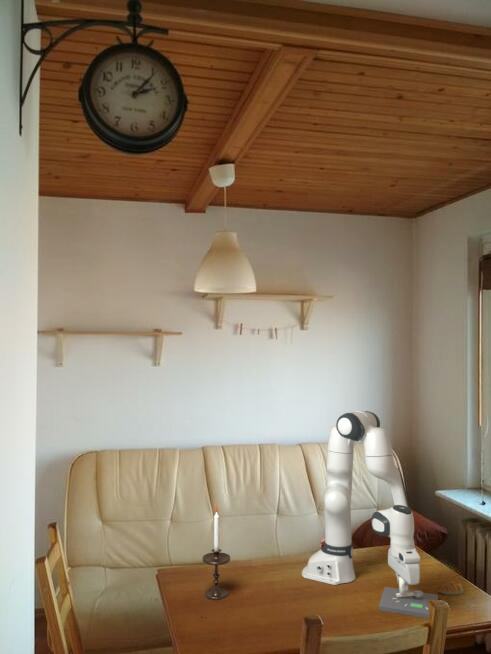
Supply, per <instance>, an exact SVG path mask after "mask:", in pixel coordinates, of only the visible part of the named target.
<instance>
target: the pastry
mask: <svg viewBox="0 0 491 654" xmlns="http://www.w3.org/2000/svg"><path fill="white" fill-rule="evenodd" d="M438 593H441V594H443V595H445V596H456V595H462V594H463V593H464V588H463V586H462V584H461V583H460V581H457V580H453V581H446V582H445V583H444V584H441V585H440V586H439V587H438Z"/></svg>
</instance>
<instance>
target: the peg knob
mask: <svg viewBox="0 0 491 654" xmlns="http://www.w3.org/2000/svg"><path fill="white" fill-rule="evenodd" d="M403 583H404V581H403V578H402V577H401V576H399V584H398V589H399V593H396V596H397V597H404V596H413V597H415V598H423V593H424V592H423V591H422V590H420V589H419V590H418V589H414V590H412V591H413V592H409V593H407V590H404V589H403V588H402V587H403V586H402V584H403Z"/></svg>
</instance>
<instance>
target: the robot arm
mask: <svg viewBox="0 0 491 654" xmlns="http://www.w3.org/2000/svg"><path fill="white" fill-rule="evenodd" d="M335 424H336V425H334V426H333V427H332V428H331V429H330V433H329V436H328V442H327V453H326V483H325V484H326V485H325V492H324V496H323V514H324V515H323V516H324V533H325V534H324V538H322V539H321V542H320V545H319V548H320V549H319V550H318V551H316V552H315V553H314V554H312V555H311V556H310V557H309V559H308V561H307V565H306V566H304V568H303V569H302V570H301V577H303V578H304V579H308V580H312V581H316V582H319V583H325V584H327V585H328V584H329V585H335V586H336V585H340V584H344V583H345V584H346V583H351V582H353V581H355V580H356V578H357V577H356V576H357V575H356V573H355V569H354V562H353V557H354V555H353V554H354V547H353V542H352V516H351V513H352V511H351V508H352V507H351V505H352V504H351V502H352V493H353V492H352V490H353V488H352V487H353V469H354V468H353V466H354V451H355V450H354V448H355V442H361V443H362V445H363V448H364V459H365V461H364V462H365V467H366V469H367V471H368V472H369V474H371V475H372V476H373V477H374V478H377V479H380V480H383V481H384V482H386V483H387V485H388V486H389V488H390V491H391V496H392V500H393V505H392V506H391V507H389V508H385V509H380V510H377V511H375V512H373V513H372V515H371V519H370V523H371V525H370V526H371V528H372V530H373V531H374V533H375V534H376V535H378V536H380V537H388V538H390V547H389V548H388V550H387V551H388V552H387V563H388V566H389V567H390V568H391V569H392V570H393V571H394V572H395V576H396V580H397V585H399V576H401V577H402V578H403V581H404V583H403V584H402V586H403V587H402V588H403V589H404V590H409V586H415V585H419V584H420V576H421V574H420V571H421V569H420V563H421V556H420V555H419V554H420V553H418V551H417V549H416V547H415V540H414V539H415V538H414V535H415V517H414V513H413V511H412V509H411V506H410V502H409V498H408V494H407V490H406V487H405V486H406V485H405V482H404V481H405V480H404V479H403V475H402V472H401V470H400V468H398V467H397V466H396V463H395V460H394V454H393V447H392V443H391V442H392V441H391V438H390V435H389V432H388V430H387V429H384V428H382V427H381V421H380V418H379V417H378V415H377V414H375V413H374V412H372V411H368V410H365V411H363V410H357V411H353V412H346V413H343V414H342V415H340V416H339V417H338V419H337V420H336V423H335Z"/></svg>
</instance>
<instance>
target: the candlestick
mask: <svg viewBox="0 0 491 654" xmlns="http://www.w3.org/2000/svg"><path fill="white" fill-rule="evenodd" d="M214 509H215V515H214V516H213V523H214V524H213V549H212V550H211V552H208V553H206V554H204V555H203V556H202V562H203V563H204V564H206V565H210V566H214V573H213V574H212V577H213V579H214V580H213V584H214V587H212V588H211V587H210V588H208V589H206V590H205V591H204V597H205V598H206V597H207V598H206V599H208V600H211V601H221V600H224V599H226V598H227V597H228V596H229V592H228V590H227V589H225V588H223V587H219V583H220V580H219V579H220V577H221V574H220V573H219V566H223V565H227V564H228V563H230V562H231V555H229V553H225V552H222V549H220V515H219V514H218V506H217V504H216V503H215V504H214Z"/></svg>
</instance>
